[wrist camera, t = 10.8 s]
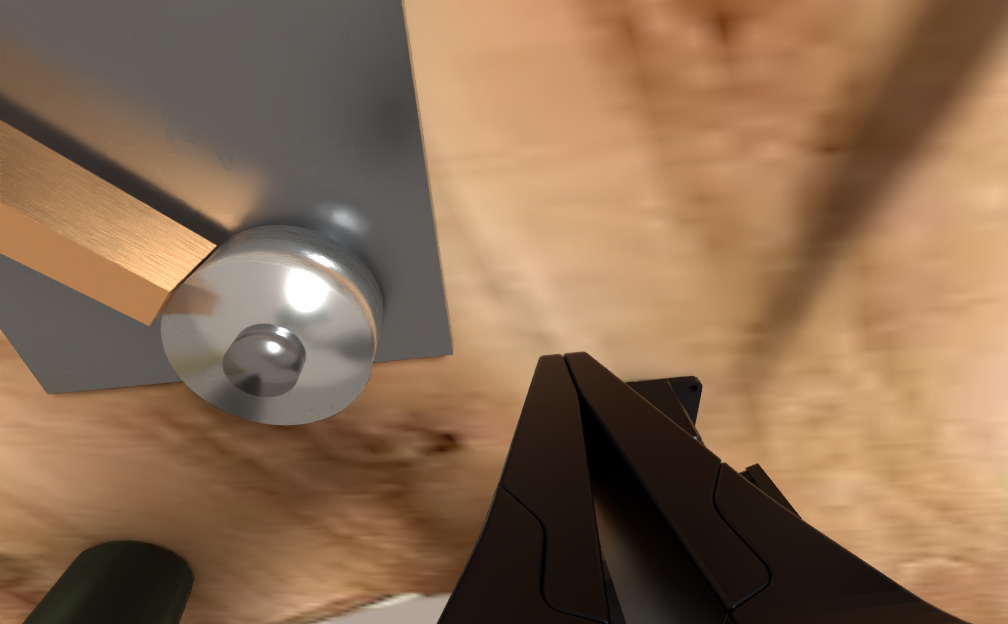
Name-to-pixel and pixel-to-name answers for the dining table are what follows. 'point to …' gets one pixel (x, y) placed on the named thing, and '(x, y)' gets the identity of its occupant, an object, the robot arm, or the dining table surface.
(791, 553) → the robot arm
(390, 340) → the chuck base plate
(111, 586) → the potion bottle
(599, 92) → the dining table surface
